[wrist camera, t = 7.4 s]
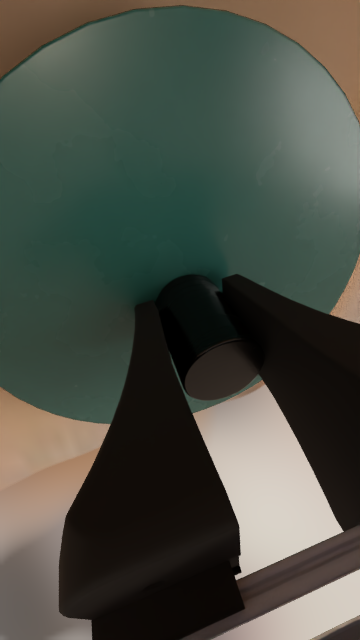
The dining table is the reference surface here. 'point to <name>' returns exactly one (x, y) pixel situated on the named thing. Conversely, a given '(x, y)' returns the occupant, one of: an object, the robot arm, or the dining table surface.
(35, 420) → the dining table surface
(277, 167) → the lid
